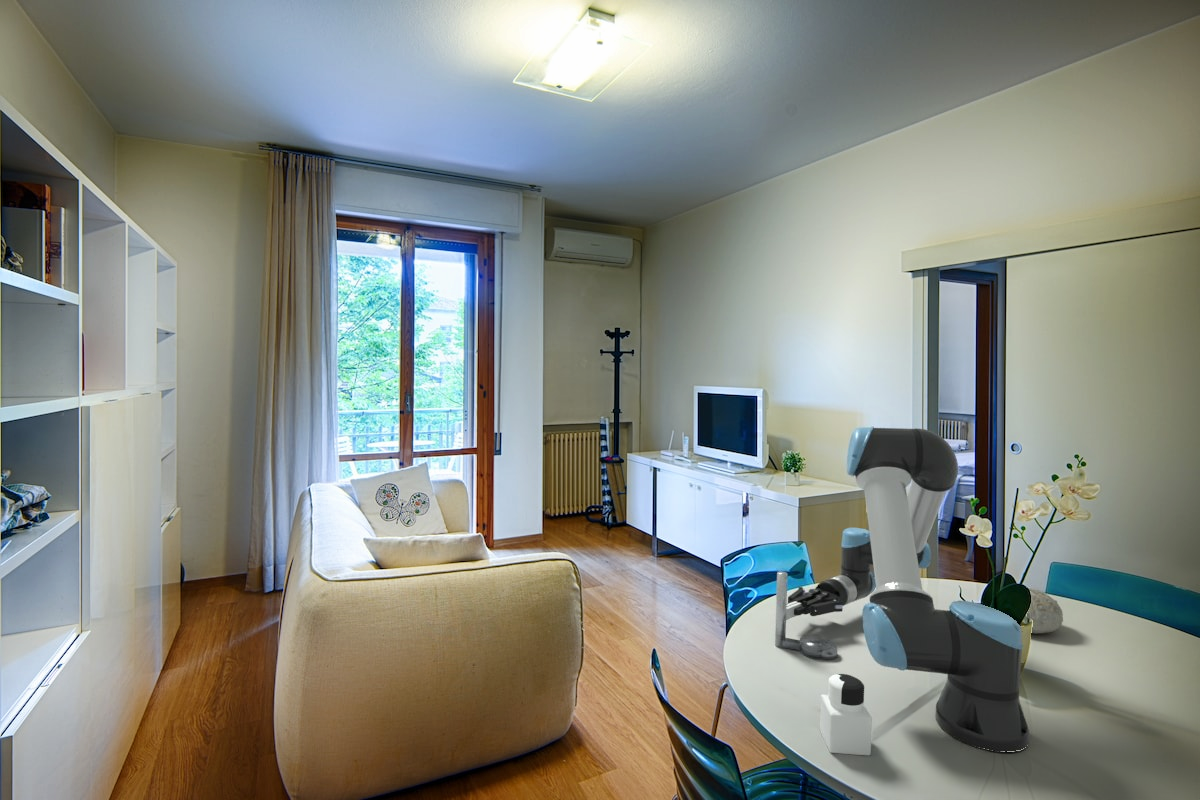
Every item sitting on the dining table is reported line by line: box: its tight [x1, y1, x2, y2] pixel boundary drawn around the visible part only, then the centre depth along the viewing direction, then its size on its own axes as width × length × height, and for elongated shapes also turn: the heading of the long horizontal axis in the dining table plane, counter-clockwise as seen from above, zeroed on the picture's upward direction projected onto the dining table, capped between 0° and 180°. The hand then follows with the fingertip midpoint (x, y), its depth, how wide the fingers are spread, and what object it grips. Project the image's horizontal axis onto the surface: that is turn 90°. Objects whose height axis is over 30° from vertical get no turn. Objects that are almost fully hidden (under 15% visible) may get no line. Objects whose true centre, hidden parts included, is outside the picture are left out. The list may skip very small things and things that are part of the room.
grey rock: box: [1027, 587, 1064, 634], centre depth 163 cm, size 18×18×10 cm
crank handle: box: [774, 570, 839, 661], centre depth 143 cm, size 14×7×18 cm, turn 66°
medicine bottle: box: [819, 673, 873, 756], centre depth 110 cm, size 7×7×12 cm
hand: (782, 613), depth 147 cm, fingers closed
